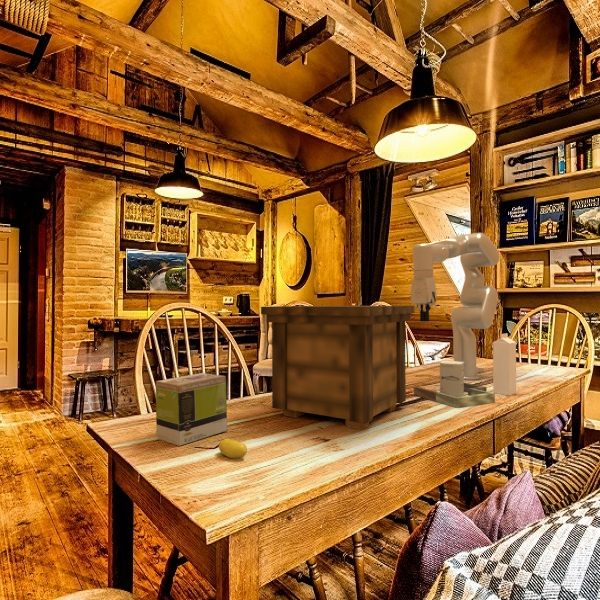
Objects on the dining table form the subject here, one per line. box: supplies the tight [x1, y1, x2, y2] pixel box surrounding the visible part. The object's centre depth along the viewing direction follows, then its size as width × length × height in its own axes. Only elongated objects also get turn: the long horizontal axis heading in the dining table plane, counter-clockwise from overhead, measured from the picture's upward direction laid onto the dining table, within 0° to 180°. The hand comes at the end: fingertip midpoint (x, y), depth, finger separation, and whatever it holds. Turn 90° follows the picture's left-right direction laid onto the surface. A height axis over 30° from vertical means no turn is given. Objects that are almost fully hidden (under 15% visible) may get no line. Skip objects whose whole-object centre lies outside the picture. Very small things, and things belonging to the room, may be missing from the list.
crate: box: [260, 305, 416, 430], centre depth 130 cm, size 35×35×33 cm
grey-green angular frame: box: [413, 382, 496, 409], centre depth 148 cm, size 23×20×3 cm
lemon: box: [218, 438, 248, 459], centre depth 92 cm, size 4×8×4 cm, turn 47°
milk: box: [492, 332, 517, 396], centre depth 155 cm, size 6×6×22 cm
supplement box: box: [439, 360, 465, 397], centre depth 148 cm, size 7×7×13 cm
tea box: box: [155, 372, 228, 447], centre depth 107 cm, size 15×10×15 cm
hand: (424, 321), depth 167 cm, fingers closed
